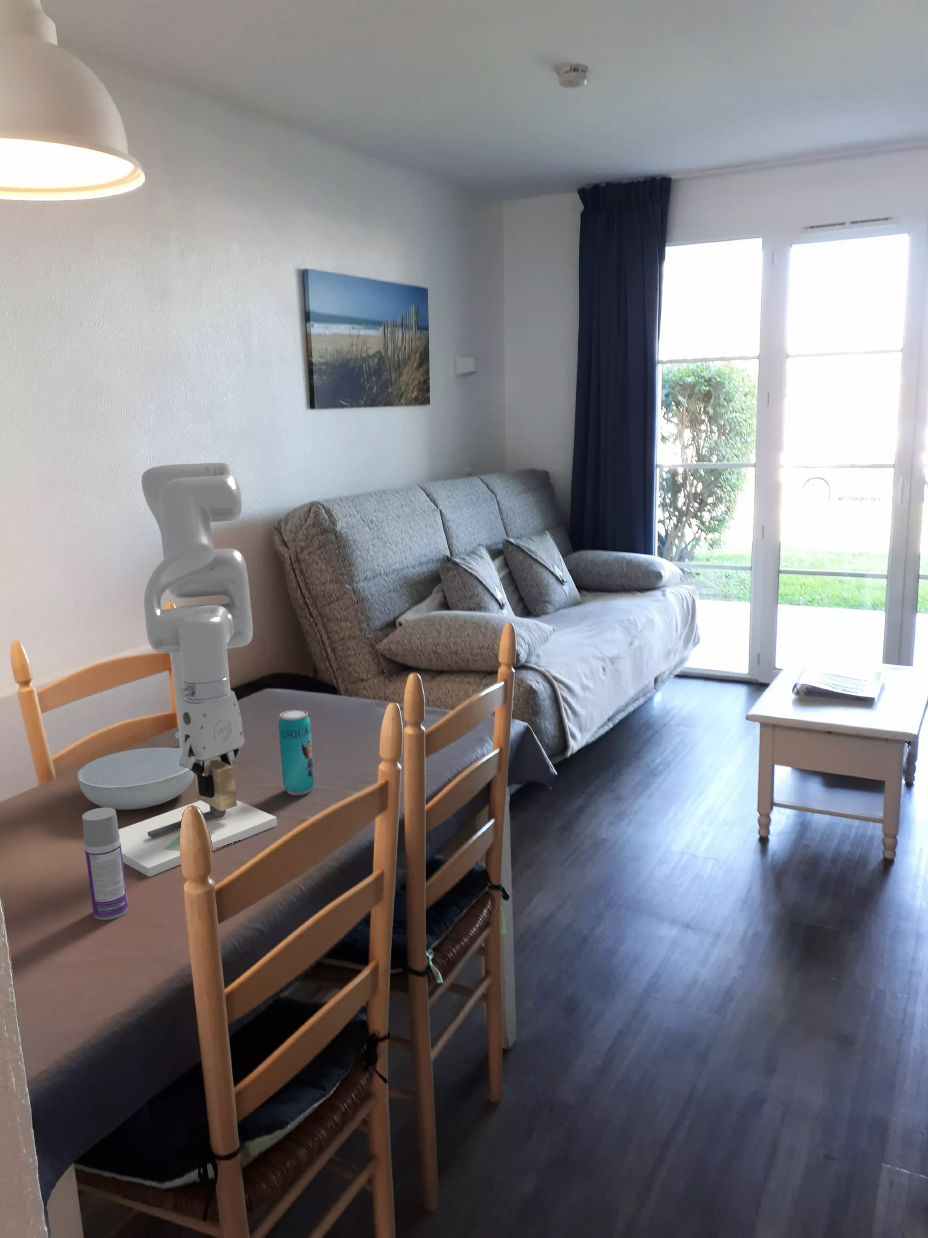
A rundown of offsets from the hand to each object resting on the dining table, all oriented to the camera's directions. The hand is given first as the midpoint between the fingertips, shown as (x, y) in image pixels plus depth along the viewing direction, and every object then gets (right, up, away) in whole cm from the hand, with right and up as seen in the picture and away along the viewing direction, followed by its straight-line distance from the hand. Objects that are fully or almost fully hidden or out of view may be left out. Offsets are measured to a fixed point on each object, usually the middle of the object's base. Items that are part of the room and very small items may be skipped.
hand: (216, 790), depth 165 cm
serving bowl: (-17, -4, +14) cm, 22 cm away
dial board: (-4, -7, -3) cm, 9 cm away
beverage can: (+12, -3, +15) cm, 19 cm away
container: (-8, -13, -27) cm, 31 cm away
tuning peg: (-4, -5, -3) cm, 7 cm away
